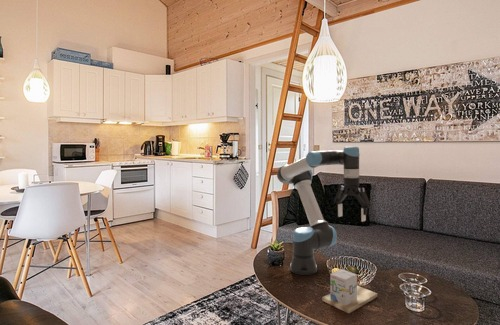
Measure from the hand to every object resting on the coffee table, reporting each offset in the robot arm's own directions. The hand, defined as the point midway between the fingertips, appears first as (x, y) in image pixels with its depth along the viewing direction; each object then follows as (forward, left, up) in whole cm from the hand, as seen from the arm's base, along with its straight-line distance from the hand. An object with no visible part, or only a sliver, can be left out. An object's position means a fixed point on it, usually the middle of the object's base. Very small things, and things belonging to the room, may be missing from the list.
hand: (351, 218), depth 157 cm
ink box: (+10, -21, -31) cm, 39 cm away
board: (+10, -16, -33) cm, 38 cm away
